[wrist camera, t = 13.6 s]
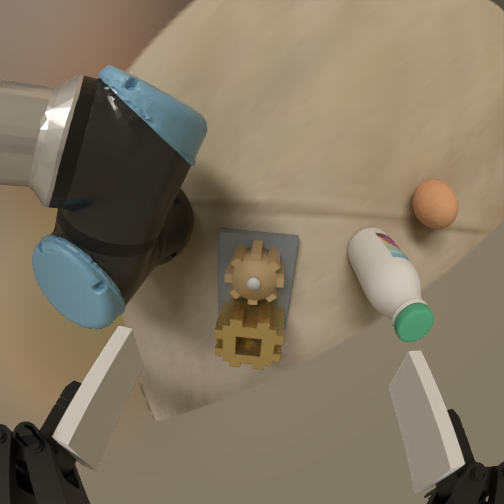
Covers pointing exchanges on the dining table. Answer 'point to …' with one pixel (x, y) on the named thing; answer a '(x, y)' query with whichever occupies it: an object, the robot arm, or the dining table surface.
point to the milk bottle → (390, 283)
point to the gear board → (268, 242)
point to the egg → (435, 204)
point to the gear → (250, 332)
